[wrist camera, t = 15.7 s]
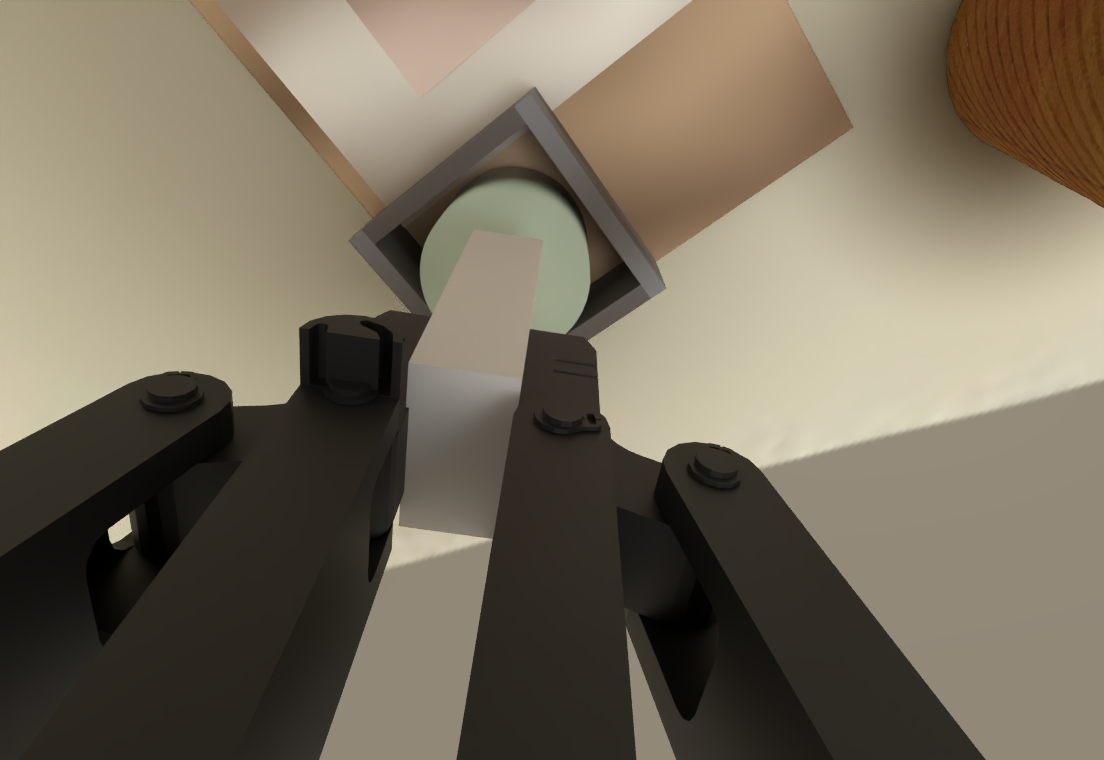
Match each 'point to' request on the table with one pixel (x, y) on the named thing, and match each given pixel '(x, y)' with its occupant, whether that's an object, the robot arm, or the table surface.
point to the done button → (520, 210)
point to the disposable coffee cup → (1034, 84)
